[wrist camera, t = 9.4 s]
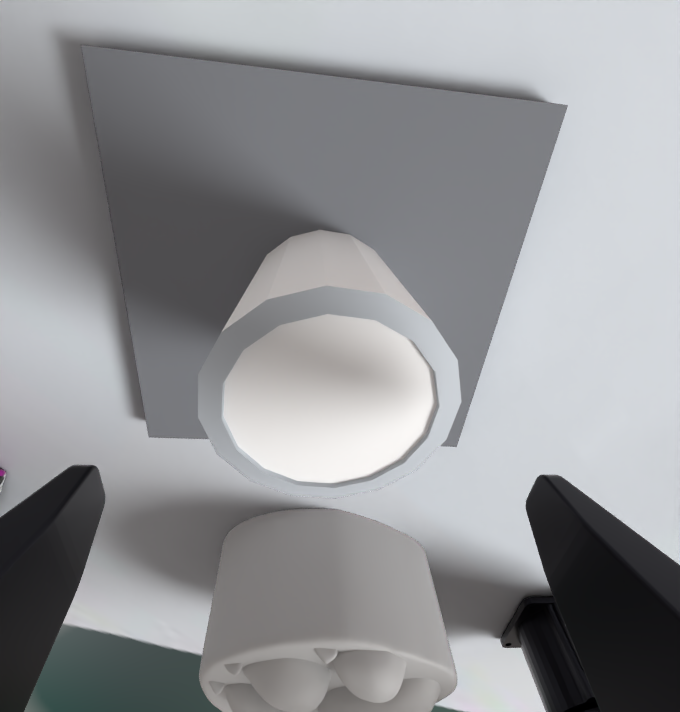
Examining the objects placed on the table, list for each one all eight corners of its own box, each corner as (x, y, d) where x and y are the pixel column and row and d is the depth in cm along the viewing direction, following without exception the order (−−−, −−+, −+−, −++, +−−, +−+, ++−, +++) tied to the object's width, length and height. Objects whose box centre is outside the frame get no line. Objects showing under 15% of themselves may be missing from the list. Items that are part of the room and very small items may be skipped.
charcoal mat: (451, 433, 22) (456, 446, 22) (155, 423, 21) (148, 437, 20) (553, 104, 15) (567, 105, 14) (95, 47, 13) (80, 44, 12)
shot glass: (199, 306, 17) (139, 424, 11) (316, 168, 14) (323, 220, 8) (327, 398, 19) (336, 532, 13) (443, 295, 17) (516, 401, 11)
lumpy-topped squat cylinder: (357, 623, 32) (372, 780, 25) (193, 577, 28) (151, 752, 20) (446, 546, 28) (496, 710, 20) (268, 479, 23) (251, 655, 16)
